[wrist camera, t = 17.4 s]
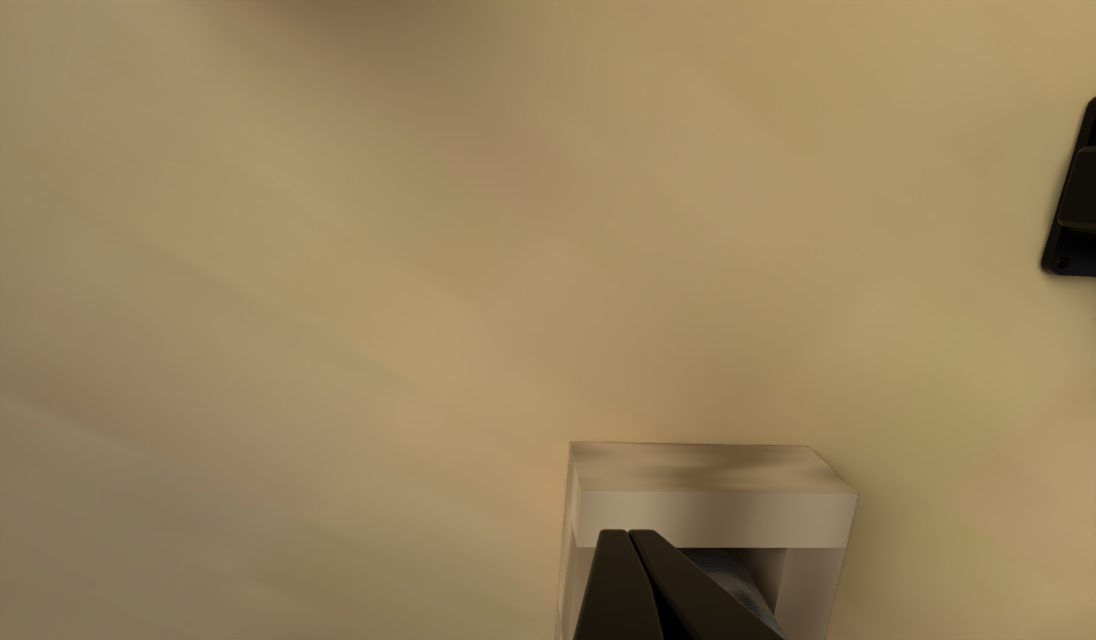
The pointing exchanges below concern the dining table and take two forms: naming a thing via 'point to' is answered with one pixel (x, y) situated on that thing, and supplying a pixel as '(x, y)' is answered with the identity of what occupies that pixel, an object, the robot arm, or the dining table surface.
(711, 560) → the black cylinder
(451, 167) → the dining table surface
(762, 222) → the dining table surface
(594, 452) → the dock block
